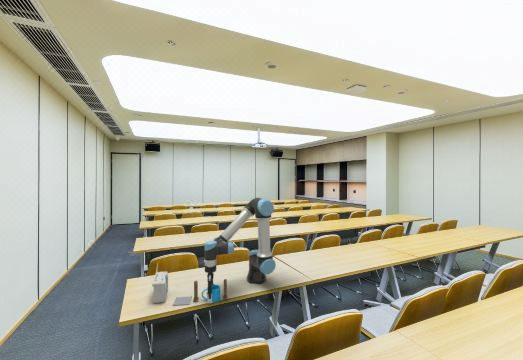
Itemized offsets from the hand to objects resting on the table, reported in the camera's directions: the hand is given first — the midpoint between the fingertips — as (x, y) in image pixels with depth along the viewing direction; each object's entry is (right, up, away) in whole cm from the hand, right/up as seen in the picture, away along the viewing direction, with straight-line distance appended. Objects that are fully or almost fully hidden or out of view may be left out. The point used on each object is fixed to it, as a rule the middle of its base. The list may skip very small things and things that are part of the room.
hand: (210, 299), depth 163 cm
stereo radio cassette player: (-35, -1, +5) cm, 35 cm away
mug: (0, -1, 0) cm, 1 cm away
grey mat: (-18, 0, -2) cm, 18 cm away
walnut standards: (0, 0, 0) cm, 0 cm away
